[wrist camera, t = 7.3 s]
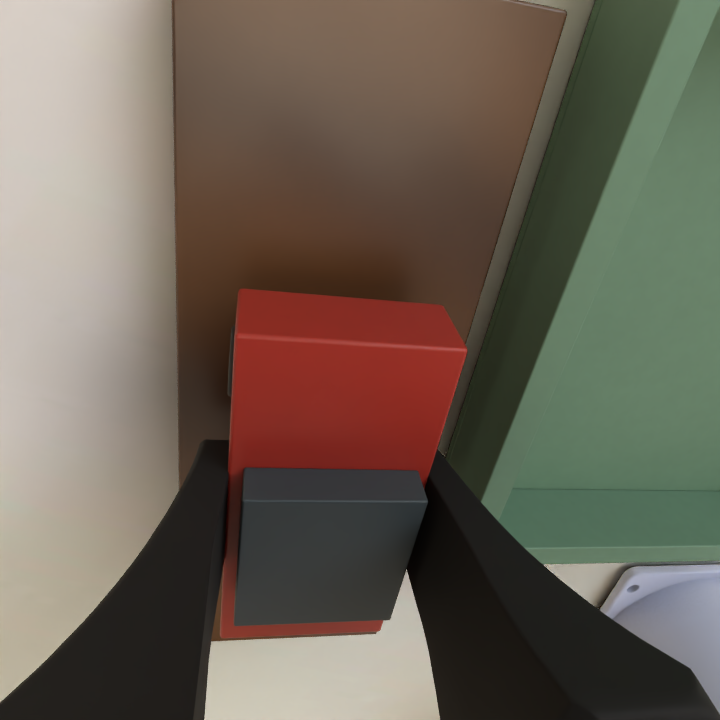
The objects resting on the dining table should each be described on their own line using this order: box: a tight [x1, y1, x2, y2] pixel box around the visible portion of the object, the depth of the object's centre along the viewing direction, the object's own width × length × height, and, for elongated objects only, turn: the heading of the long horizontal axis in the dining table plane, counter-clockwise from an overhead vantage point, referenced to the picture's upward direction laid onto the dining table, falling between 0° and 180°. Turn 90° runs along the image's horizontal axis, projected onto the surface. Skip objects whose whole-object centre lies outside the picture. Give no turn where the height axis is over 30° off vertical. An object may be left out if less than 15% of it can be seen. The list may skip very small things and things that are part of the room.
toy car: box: [220, 289, 467, 638], centre depth 13 cm, size 9×4×3 cm, turn 171°
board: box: [172, 0, 567, 641], centre depth 15 cm, size 20×7×2 cm, turn 170°
